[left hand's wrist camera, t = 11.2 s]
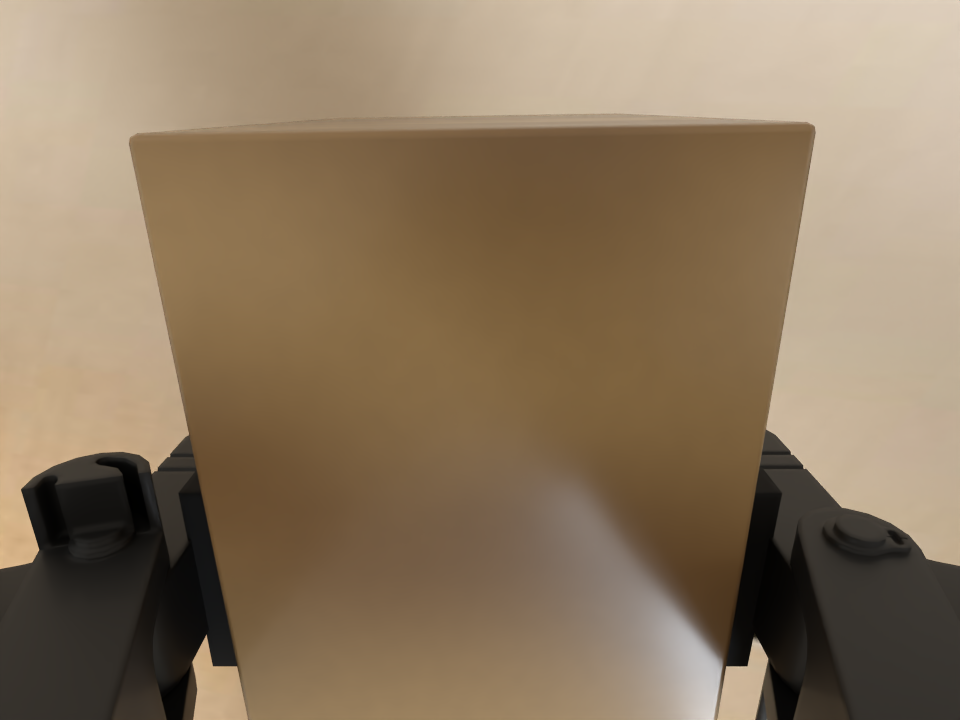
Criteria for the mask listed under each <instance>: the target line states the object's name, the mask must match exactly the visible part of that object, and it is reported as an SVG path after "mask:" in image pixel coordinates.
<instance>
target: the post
mask: <svg viewBox="0 0 960 720" xmlns="http://www.w3.org/2000/svg"><path fill="white" fill-rule="evenodd" d="M814 138H815V127H814V125H812V124H810V123H807V122H790V121H767V120H745V119H723V118H700V117H678V116H656V115H633V114H567V115H508V116H449V117H390V118H337V119H324V120H311V121H297V122H284V123H271V124H258V125H244V126H231V127H218V128H205V129H191V130H178V131H165V132H151V133H138V134H135V135H133V136H131V137H130V141H129V146H130V151H131V155H132V160H133V165H134V170H135V175H136V180H137V184H138V189H139V194H140V199H141V204H142V208H143V213H144V218H145V223H146V228H147V233H148V237H149V242H150V247H151V252H152V257H153V262H154V266H155V271H156V276H157V281H158V286H159V291H160V295H161V300H162V305H163V310H164V315H165V319H166V324H167V329H168V334H169V339H170V344H171V348H172V353H173V358H174V363H175V368H176V373H177V377H178V382H179V387H180V392H181V397H182V402H183V406H184V411H185V416H186V421H187V426H188V431H189V435H190V440H191V445H192V450H193V455H194V459H195V464H196V469H197V474H198V479H199V484H200V488H201V493H202V498H203V503H204V508H205V513H206V517H207V522H208V527H209V532H210V537H211V542H212V546H213V551H214V556H215V561H216V566H217V571H218V575H219V580H220V585H221V590H222V595H223V599H224V604H225V609H226V614H227V619H228V624H229V628H230V633H231V638H232V643H233V648H234V653H235V657H236V662H237V667H238V672H239V677H240V682H241V686H242V691H243V696H244V701H245V706H246V710H247V715H248V720H717V717H718V711H719V705H720V699H721V693H722V687H723V681H724V675H725V669H726V664H727V658H728V652H729V646H730V640H731V634H732V628H733V622H734V616H735V610H736V604H737V598H738V592H739V586H740V580H741V574H742V568H743V562H744V556H745V550H746V544H747V538H748V532H749V526H750V520H751V514H752V508H753V502H754V496H755V490H756V484H757V478H758V473H759V467H760V461H761V455H762V449H763V443H764V437H765V431H766V425H767V419H768V413H769V407H770V401H771V395H772V389H773V383H774V377H775V371H776V365H777V359H778V353H779V347H780V341H781V335H782V329H783V323H784V317H785V311H786V305H787V299H788V293H789V288H790V282H791V276H792V270H793V264H794V258H795V252H796V246H797V240H798V234H799V228H800V222H801V216H802V210H803V204H804V198H805V192H806V186H807V180H808V174H809V168H810V162H811V156H812V150H813V144H814Z"/></svg>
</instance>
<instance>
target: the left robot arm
mask: <svg viewBox="0 0 960 720" xmlns="http://www.w3.org/2000/svg"><path fill="white" fill-rule="evenodd" d="M21 491H22V494H23V498H24V501H25V504H26V507H27V511H28V514H29V517H30V520H31V524H32V527H33V530H34V534H35V537H36V540H37V543H38V547H39V552H38V554H37V555H36V557H35V559H34V561H33V563H29V564H25V565H19V566H14V567H9V568H4V569H0V720H193V717H194V709H195V702H196V695H197V685H196V678H195V673H194V668H193V663H192V661H193V659H194V657H195V655H196V653H197V652H198V650H199V648H200V646H201V644H202V642H203V640H204V638H205V636H206V634H207V638H208V643H209V648H210V653H211V658H212V663H213V666H237V662H236V657H235V653H234V648H233V643H232V638H231V633H230V628H229V624H228V619H227V614H226V609H225V604H224V599H223V595H222V590H221V585H220V580H219V575H218V571H217V566H216V561H215V556H214V551H213V546H212V542H211V537H210V532H209V527H208V522H207V517H206V513H205V508H204V503H203V498H202V493H201V488H200V484H199V479H198V474H197V469H196V464H195V459H194V455H193V450H192V445H191V440H190V435H189V436H187V437H185V438H184V439H183V441H182V442H181V443H180V444H179V445H178V446H177V447H176V448H175V449H174V451H173V452H172V453H171V454H170V457H167V458H166V459H165V461H164V462H163V463H162V464H161V465H160V466H159V467H158V471H155V472H154V473H153V474H151V470H150V465H149V462H148V461H147V460H145V459H144V458H143V457H141V456H140V455H136V454H130V453H125V452H112V453H99V454H94V455H89V456H84V457H79V458H75V459H73V460H70V461H67V462H64V463H61V464H59V465H56V466H53V467H51V468H50V469H48V470H46V471H44V472H42V473H41V474H39V475H37V476H35V477H34V478H33V479H31V480H30V481H29V482H28V483H27V484H26V485H25V486H24V487H23V488H22V489H21ZM754 632H755V634H756V636H757V638H758V640H759V641H760V643H761V645H762V647H763V649H764V651H765V653H766V655H767V657H768V663H767V668H766V673H765V677H764V682H763V687H762V691H761V696H760V700H759V705H758V710H757V714H756V719H755V720H960V566H956V565H951V564H946V563H941V562H936V561H932V560H928V559H926V558H925V556H924V554H923V552H922V550H921V549H920V548H919V546H918V545H917V544H916V543H915V542H914V541H913V540H912V538H911V537H910V536H909V535H908V534H906V533H905V532H903V531H902V530H900V529H898V528H897V527H895V526H894V525H892V524H891V523H889V522H886V521H884V520H882V519H879V518H877V517H875V516H872V515H870V514H867V513H863V512H858V511H854V510H850V509H846V508H841V507H840V505H839V504H838V503H837V502H836V501H835V500H834V499H833V498H832V497H831V496H830V494H829V493H828V492H827V491H826V490H825V489H824V488H823V487H822V486H821V485H820V483H819V482H818V481H817V480H816V479H815V478H814V477H813V476H812V475H811V474H810V472H809V471H808V470H807V469H803V465H802V464H801V463H800V461H799V460H798V459H797V458H796V457H795V456H794V455H791V452H790V450H789V449H788V448H787V447H786V446H785V445H784V444H783V443H782V442H781V441H780V439H779V438H778V437H777V436H776V435H774V434H773V433H771V432H769V431H767V430H766V431H765V437H764V443H763V449H762V455H761V461H760V467H759V473H758V478H757V484H756V490H755V496H754V502H753V508H752V514H751V520H750V526H749V532H748V538H747V544H746V550H745V556H744V562H743V568H742V574H741V580H740V586H739V592H738V598H737V604H736V610H735V616H734V622H733V628H732V634H731V640H730V646H729V652H728V658H727V664H726V666H748V661H749V656H750V651H751V646H752V641H753V636H754Z"/></svg>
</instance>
